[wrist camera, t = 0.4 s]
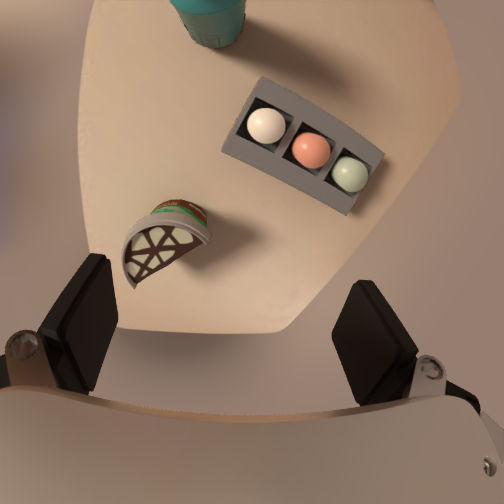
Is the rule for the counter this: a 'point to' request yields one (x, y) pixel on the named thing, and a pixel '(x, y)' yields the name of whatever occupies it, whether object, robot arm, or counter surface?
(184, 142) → the counter surface
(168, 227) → the food container
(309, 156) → the button coral
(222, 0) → the beverage bottle
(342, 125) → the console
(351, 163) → the button sage
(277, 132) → the button ivory
